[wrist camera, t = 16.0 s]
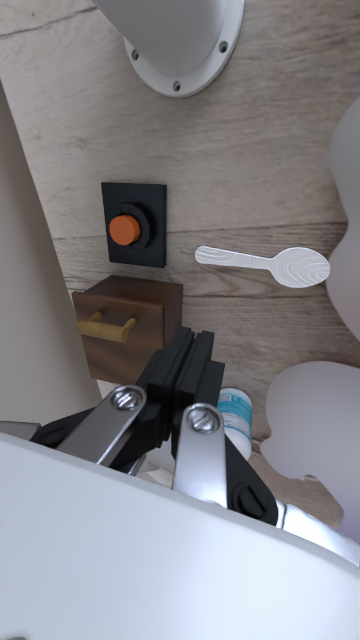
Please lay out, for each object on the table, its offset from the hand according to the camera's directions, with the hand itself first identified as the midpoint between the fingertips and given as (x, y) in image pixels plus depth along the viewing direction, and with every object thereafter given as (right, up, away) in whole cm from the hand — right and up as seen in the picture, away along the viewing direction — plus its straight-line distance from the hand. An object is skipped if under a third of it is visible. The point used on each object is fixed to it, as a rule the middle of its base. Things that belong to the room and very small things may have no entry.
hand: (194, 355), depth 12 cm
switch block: (-7, +16, +25) cm, 30 cm away
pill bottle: (+9, -14, +36) cm, 40 cm away
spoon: (+10, +10, +23) cm, 27 cm away
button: (-8, +14, +22) cm, 28 cm away
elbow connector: (-1, -26, +46) cm, 53 cm away
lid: (-9, -2, +24) cm, 26 cm away
